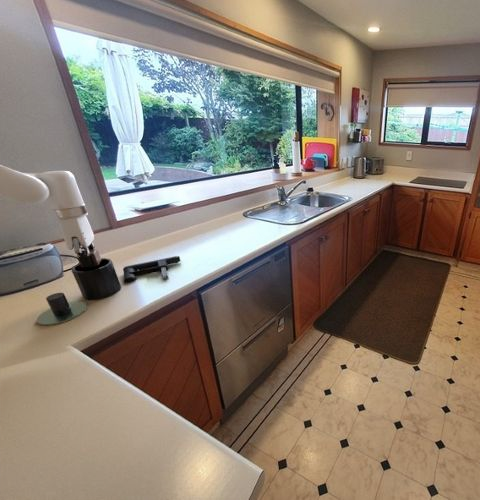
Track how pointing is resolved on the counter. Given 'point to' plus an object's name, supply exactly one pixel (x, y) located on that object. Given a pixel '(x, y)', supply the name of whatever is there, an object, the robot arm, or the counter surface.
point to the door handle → (149, 268)
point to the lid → (60, 310)
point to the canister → (97, 280)
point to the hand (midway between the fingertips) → (91, 262)
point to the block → (95, 256)
